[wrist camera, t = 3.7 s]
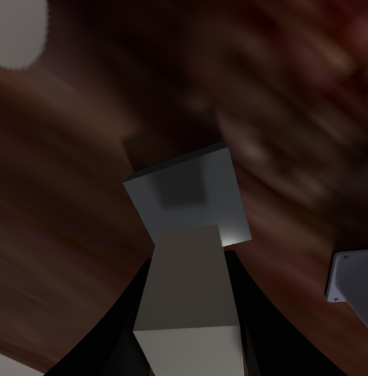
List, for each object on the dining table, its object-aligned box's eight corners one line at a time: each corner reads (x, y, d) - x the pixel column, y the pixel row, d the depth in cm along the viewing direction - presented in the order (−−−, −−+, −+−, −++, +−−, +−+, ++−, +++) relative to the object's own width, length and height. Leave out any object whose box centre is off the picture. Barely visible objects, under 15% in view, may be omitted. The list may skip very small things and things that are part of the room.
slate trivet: (221, 141, 16) (228, 146, 13) (243, 221, 19) (251, 239, 16) (133, 171, 18) (122, 182, 15) (167, 240, 21) (163, 260, 18)
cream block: (217, 224, 12) (240, 325, 6) (222, 267, 13) (244, 377, 8) (159, 230, 12) (132, 331, 7) (171, 271, 14) (157, 379, 8)
